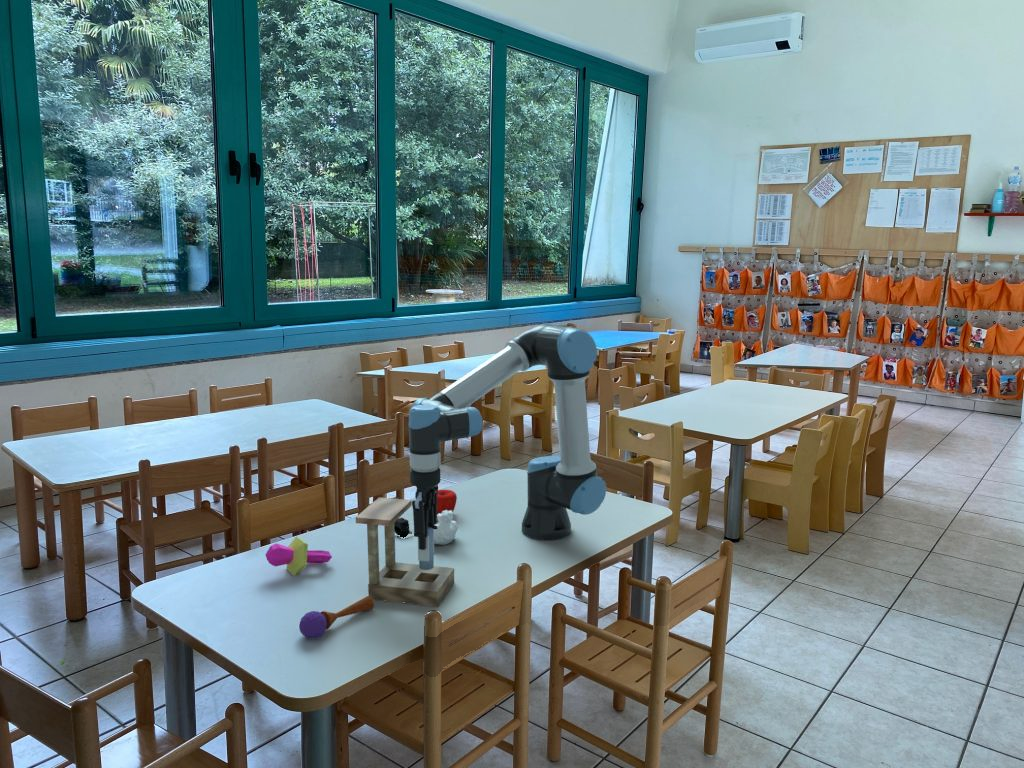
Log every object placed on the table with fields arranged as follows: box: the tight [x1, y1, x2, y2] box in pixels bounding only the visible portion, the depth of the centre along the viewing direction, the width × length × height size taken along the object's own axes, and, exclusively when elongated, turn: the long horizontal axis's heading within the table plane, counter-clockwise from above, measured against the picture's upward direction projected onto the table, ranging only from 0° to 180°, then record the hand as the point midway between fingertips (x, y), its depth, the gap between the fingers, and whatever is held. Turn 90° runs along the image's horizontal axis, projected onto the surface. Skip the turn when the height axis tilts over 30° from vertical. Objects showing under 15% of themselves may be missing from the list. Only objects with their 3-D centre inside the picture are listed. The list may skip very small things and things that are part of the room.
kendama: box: [299, 595, 375, 640], centre depth 183 cm, size 6×6×20 cm
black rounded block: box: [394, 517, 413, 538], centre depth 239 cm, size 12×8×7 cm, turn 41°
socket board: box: [367, 561, 455, 608], centre depth 200 cm, size 18×14×4 cm
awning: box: [355, 496, 413, 584], centre depth 200 cm, size 9×15×18 cm, turn 167°
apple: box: [437, 489, 458, 515], centre depth 254 cm, size 9×9×8 cm
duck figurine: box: [433, 510, 459, 546], centre depth 231 cm, size 12×8×11 cm
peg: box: [418, 527, 435, 570], centre depth 198 cm, size 4×4×10 cm
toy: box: [265, 536, 333, 576], centre depth 211 cm, size 10×18×10 cm, turn 126°
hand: (426, 557), depth 198 cm, fingers closed on peg, 3 cm apart
